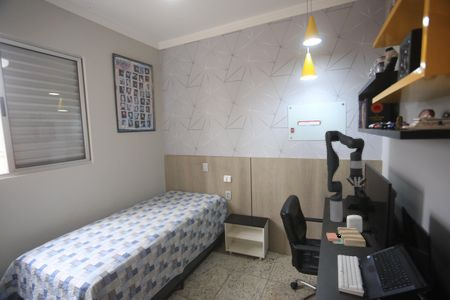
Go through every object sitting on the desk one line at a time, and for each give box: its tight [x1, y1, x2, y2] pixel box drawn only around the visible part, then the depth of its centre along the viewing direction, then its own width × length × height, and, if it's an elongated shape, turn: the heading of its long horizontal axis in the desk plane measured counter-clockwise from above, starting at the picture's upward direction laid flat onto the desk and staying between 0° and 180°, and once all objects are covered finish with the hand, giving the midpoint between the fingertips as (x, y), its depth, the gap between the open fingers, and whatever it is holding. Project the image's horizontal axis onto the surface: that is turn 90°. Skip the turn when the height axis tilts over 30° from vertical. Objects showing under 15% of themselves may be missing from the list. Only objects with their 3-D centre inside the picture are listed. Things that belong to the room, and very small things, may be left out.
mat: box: [332, 238, 344, 245], centre depth 157 cm, size 14×6×1 cm, turn 165°
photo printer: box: [346, 214, 363, 233], centre depth 167 cm, size 10×4×12 cm, turn 81°
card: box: [326, 232, 339, 242], centre depth 158 cm, size 9×6×2 cm, turn 166°
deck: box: [337, 226, 367, 248], centre depth 156 cm, size 20×12×4 cm, turn 165°
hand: (356, 191), depth 158 cm, fingers closed
